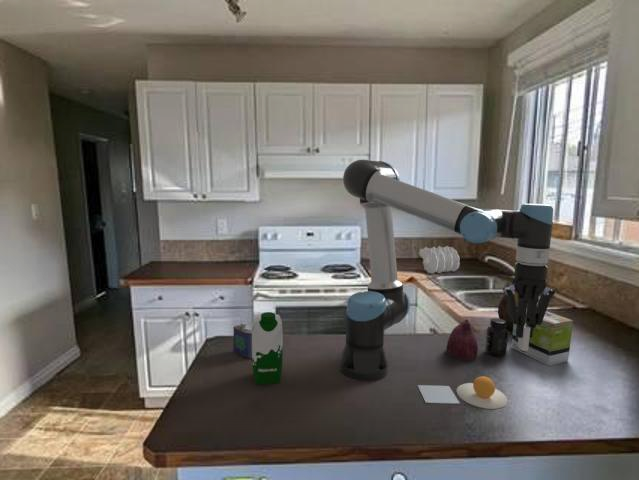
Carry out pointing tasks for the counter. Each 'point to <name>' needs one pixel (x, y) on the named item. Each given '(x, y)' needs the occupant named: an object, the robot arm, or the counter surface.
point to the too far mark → (438, 394)
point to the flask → (242, 341)
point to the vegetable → (462, 343)
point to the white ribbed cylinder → (439, 259)
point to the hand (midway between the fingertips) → (522, 348)
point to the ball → (484, 387)
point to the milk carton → (267, 348)
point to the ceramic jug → (504, 312)
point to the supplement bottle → (496, 338)
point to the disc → (472, 398)
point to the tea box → (548, 340)
